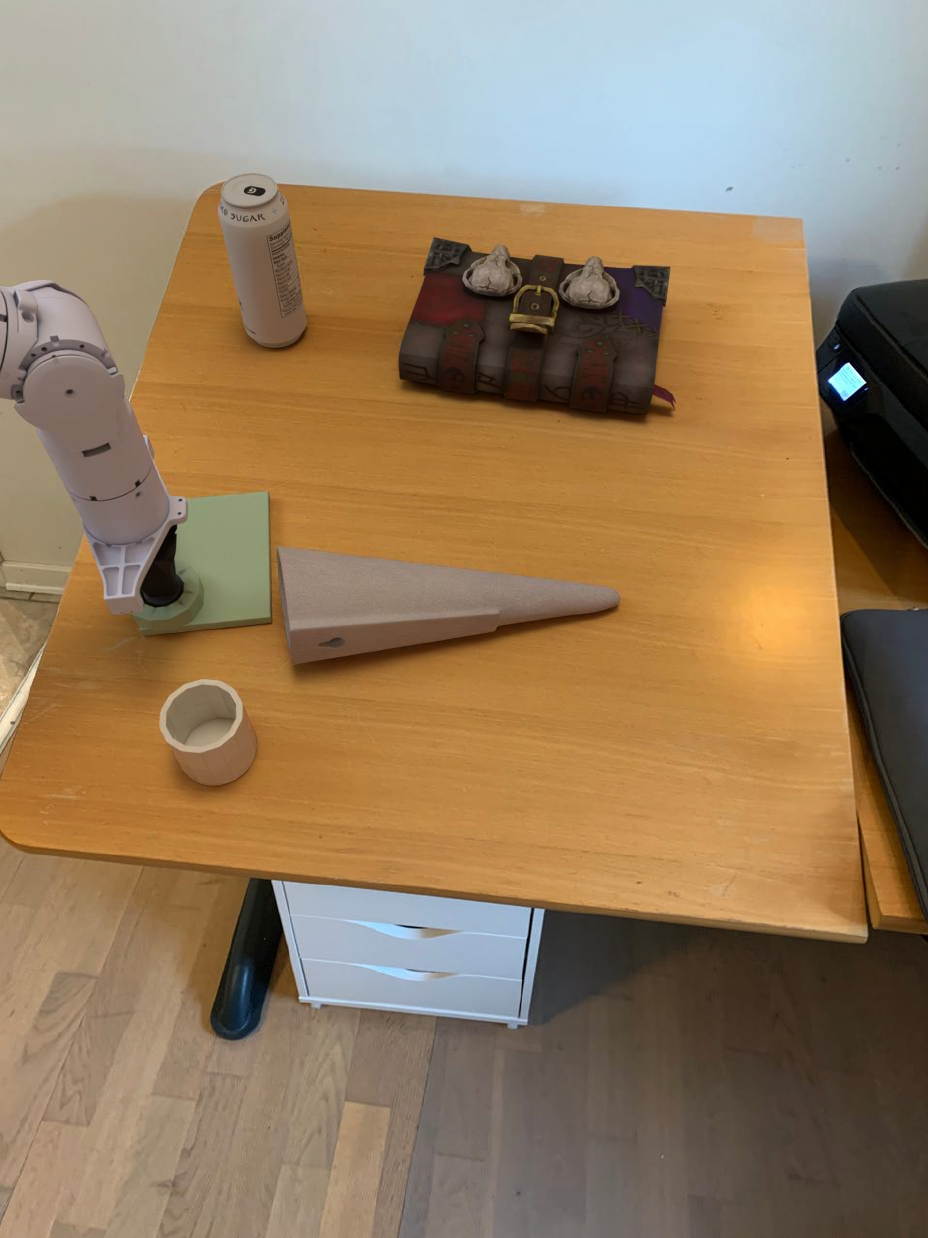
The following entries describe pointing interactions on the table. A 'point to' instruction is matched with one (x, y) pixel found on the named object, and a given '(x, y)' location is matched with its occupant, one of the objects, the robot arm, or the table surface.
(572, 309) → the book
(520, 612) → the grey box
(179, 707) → the cup
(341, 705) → the table surface
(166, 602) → the button
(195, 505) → the scale
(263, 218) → the energy drink can
